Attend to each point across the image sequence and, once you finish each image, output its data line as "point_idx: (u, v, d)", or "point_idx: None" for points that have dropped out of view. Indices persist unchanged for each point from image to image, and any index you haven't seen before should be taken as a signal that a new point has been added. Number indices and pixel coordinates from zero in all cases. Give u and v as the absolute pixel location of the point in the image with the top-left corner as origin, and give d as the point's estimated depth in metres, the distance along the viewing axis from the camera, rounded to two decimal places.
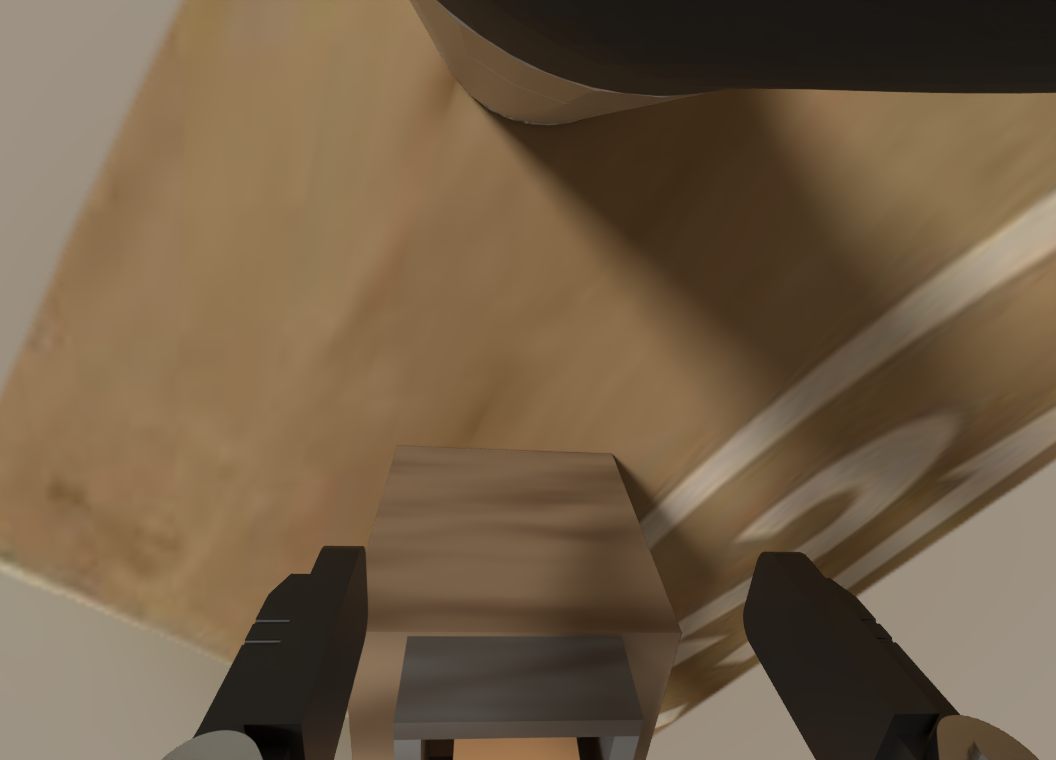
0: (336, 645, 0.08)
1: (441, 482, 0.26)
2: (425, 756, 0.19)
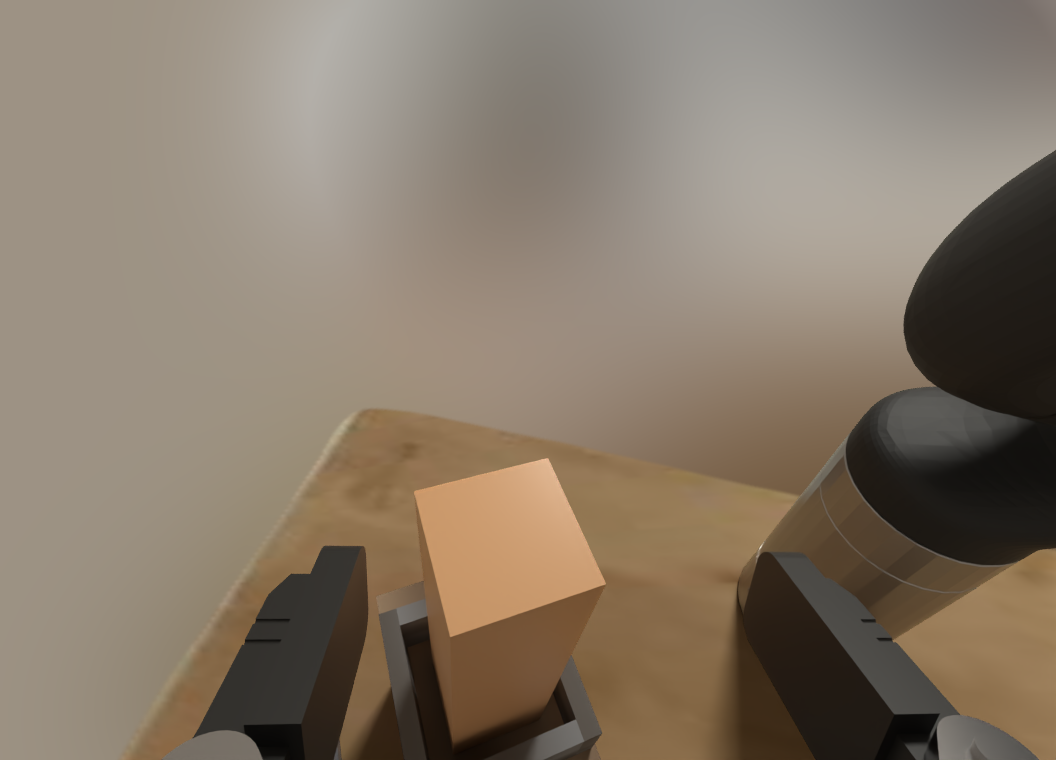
0: (336, 645, 0.08)
1: None
2: None
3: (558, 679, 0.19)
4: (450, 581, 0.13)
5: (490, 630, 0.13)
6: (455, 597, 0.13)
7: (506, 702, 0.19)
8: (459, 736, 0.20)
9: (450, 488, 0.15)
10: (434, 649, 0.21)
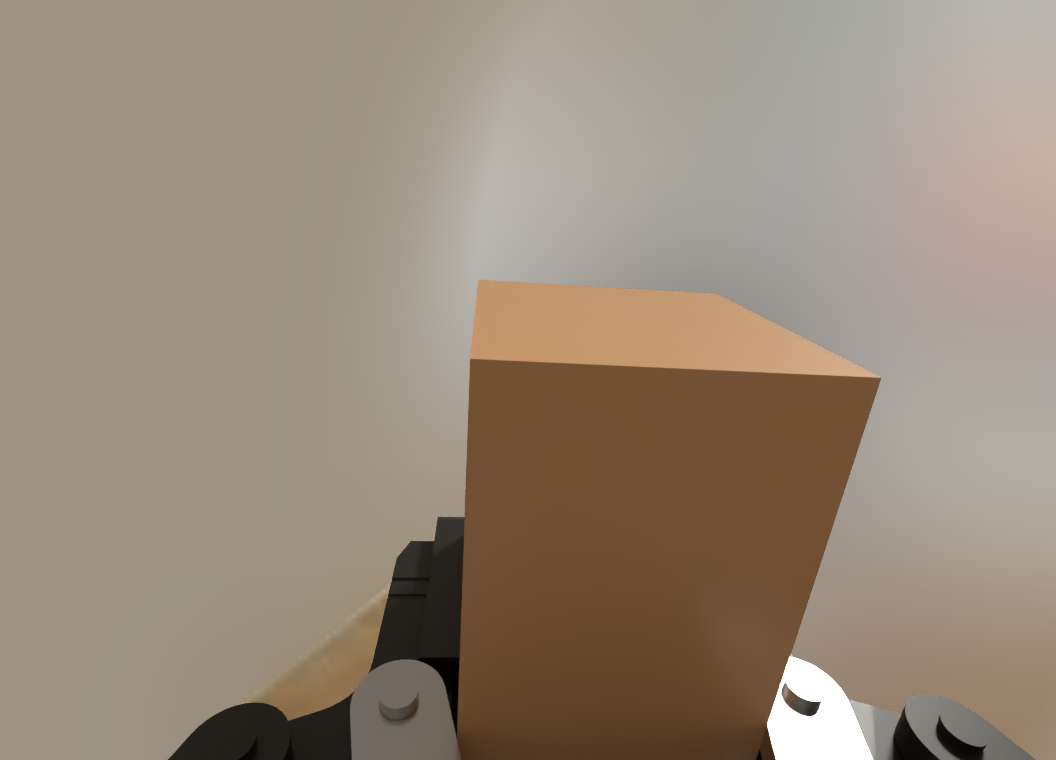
0: None
1: None
2: None
3: None
4: (502, 325, 0.06)
5: (571, 412, 0.05)
6: (505, 334, 0.06)
7: None
8: None
9: (539, 286, 0.08)
10: None
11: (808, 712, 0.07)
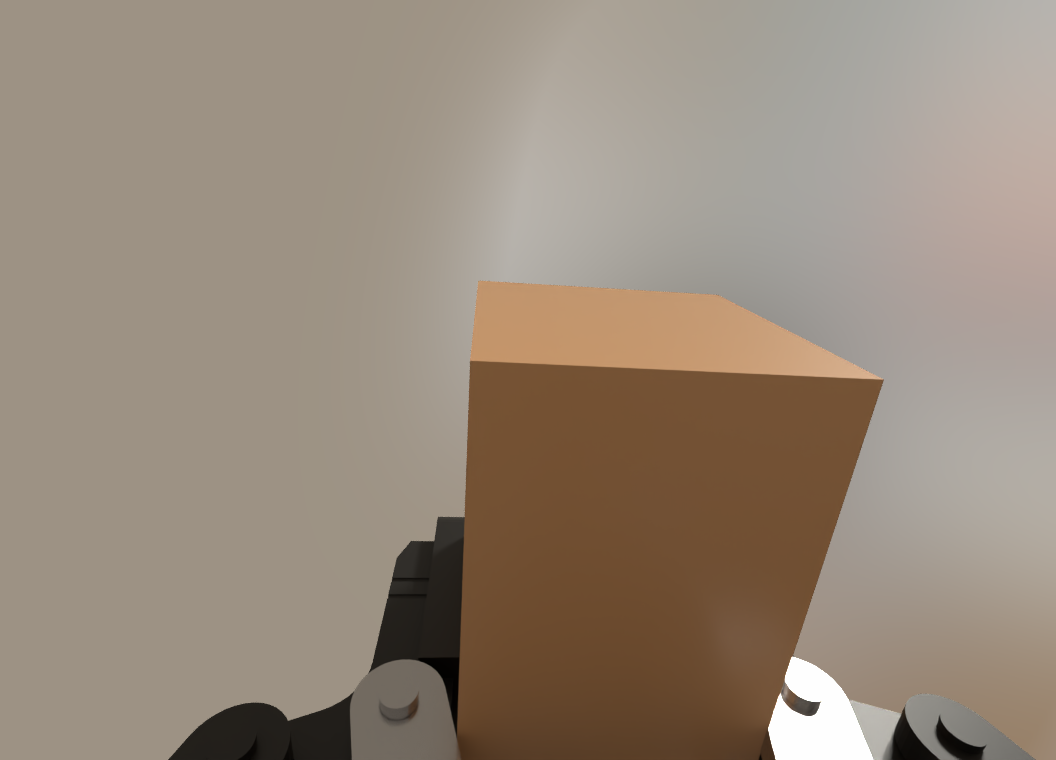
0: None
1: None
2: None
3: None
4: (503, 326, 0.06)
5: (571, 414, 0.05)
6: (505, 336, 0.06)
7: None
8: None
9: (540, 287, 0.08)
10: None
11: (808, 712, 0.07)
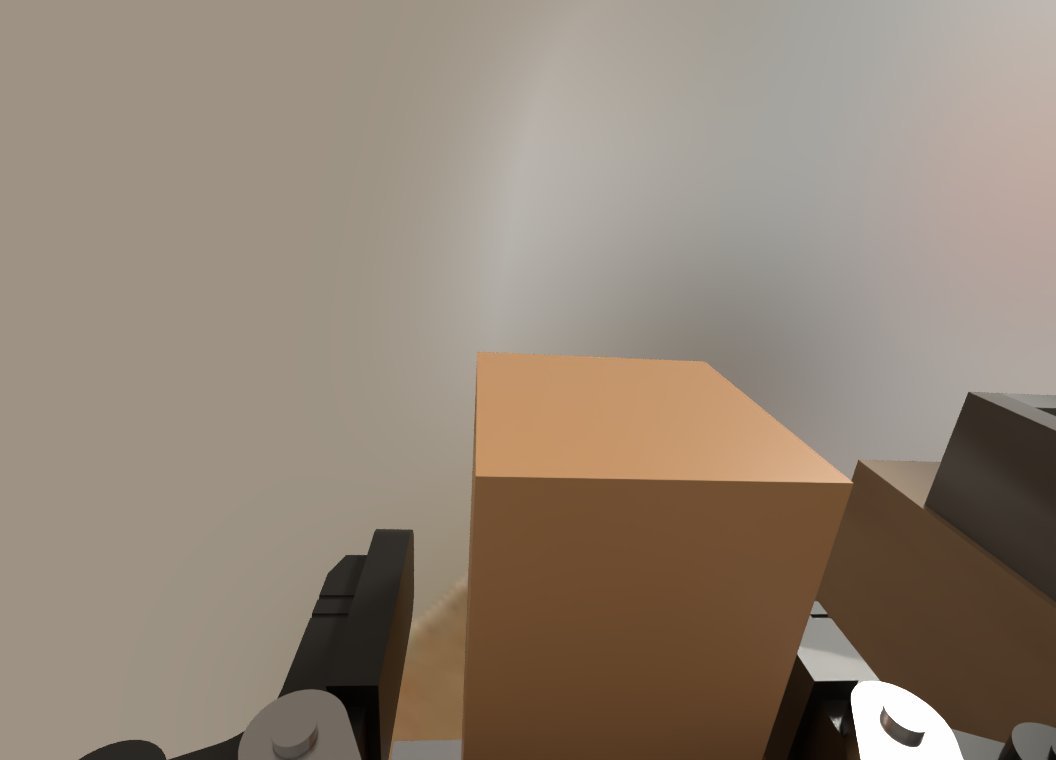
0: (396, 619, 0.09)
1: None
2: None
3: None
4: (503, 422, 0.06)
5: (569, 519, 0.05)
6: (506, 438, 0.06)
7: None
8: None
9: (536, 358, 0.09)
10: None
11: (913, 743, 0.07)
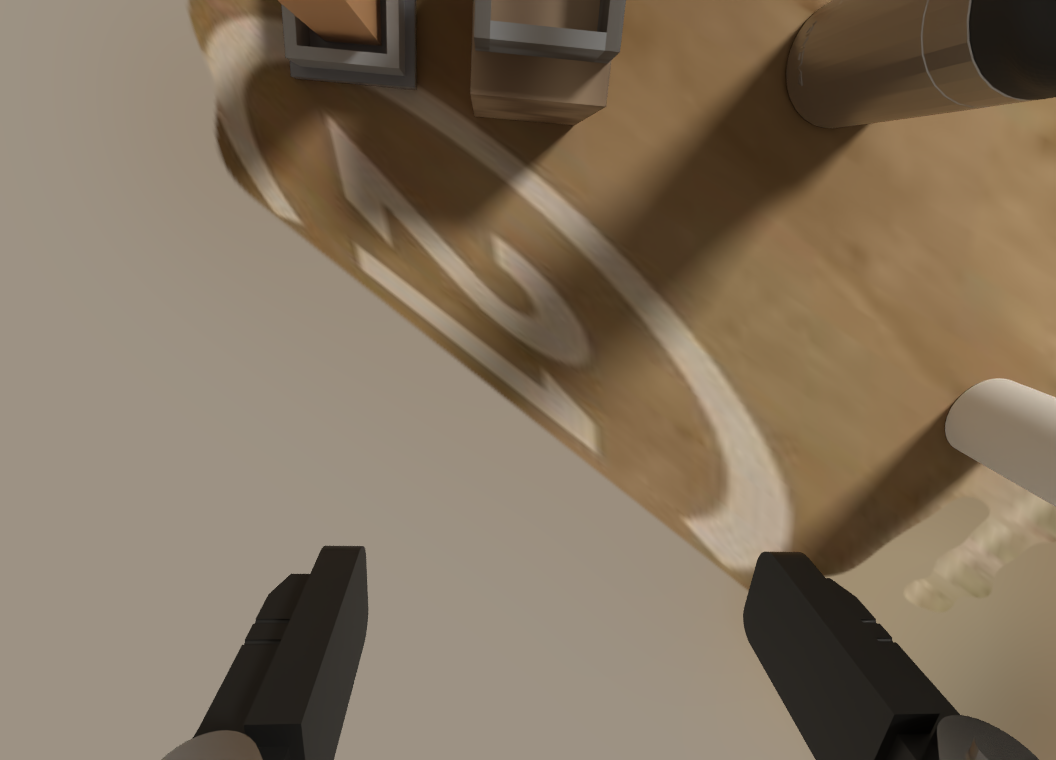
0: (336, 645, 0.08)
1: None
2: None
3: (361, 21, 0.33)
4: None
5: None
6: None
7: (330, 20, 0.33)
8: (314, 29, 0.35)
9: None
10: None
11: None
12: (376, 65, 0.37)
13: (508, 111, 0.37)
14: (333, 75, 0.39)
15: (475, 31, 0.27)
